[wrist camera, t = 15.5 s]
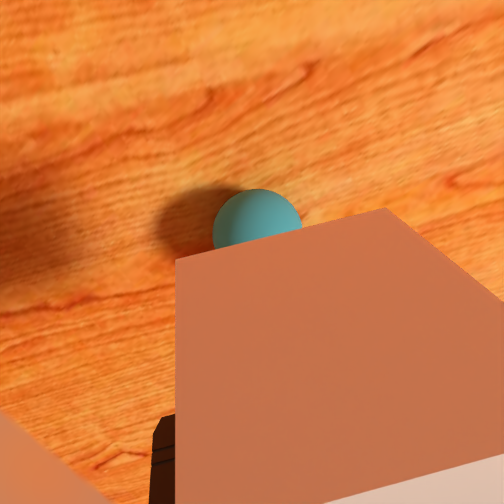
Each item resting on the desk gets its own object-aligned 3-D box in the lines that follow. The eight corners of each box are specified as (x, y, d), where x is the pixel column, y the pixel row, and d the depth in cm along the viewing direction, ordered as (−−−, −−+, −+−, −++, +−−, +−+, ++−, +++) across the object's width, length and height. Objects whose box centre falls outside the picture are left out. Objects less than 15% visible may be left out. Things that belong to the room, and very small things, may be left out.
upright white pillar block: (398, 372, 17) (588, 657, 9) (224, 419, 17) (267, 753, 9) (385, 207, 14) (643, 414, 6) (175, 259, 14) (174, 544, 6)
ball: (286, 232, 22) (258, 155, 24) (204, 280, 24) (186, 204, 26) (330, 264, 26) (302, 195, 28) (257, 303, 28) (236, 236, 30)
